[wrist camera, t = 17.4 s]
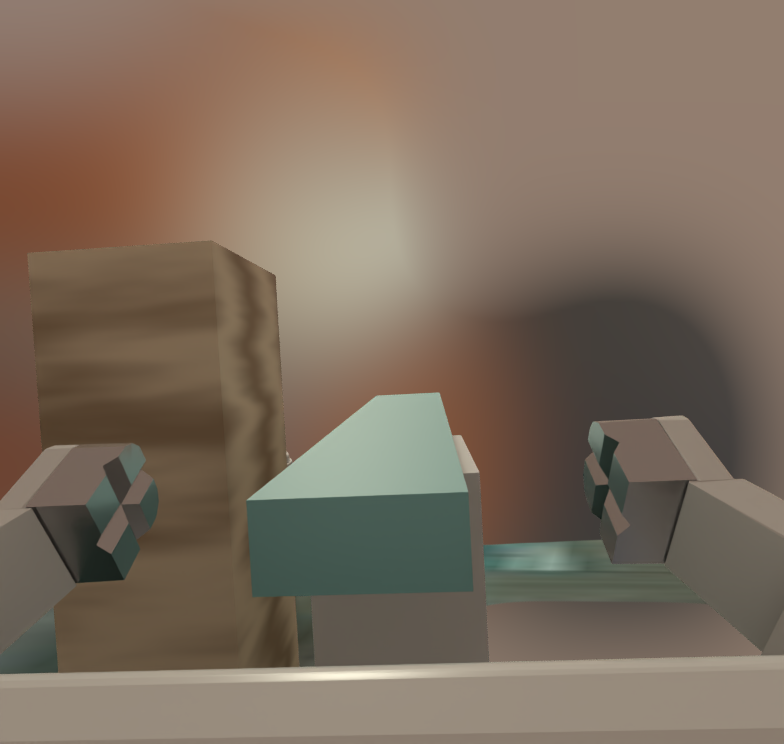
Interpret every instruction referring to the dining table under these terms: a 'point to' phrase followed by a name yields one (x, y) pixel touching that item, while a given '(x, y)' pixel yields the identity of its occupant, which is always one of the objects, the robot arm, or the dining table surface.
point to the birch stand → (169, 445)
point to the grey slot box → (410, 613)
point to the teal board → (367, 509)
